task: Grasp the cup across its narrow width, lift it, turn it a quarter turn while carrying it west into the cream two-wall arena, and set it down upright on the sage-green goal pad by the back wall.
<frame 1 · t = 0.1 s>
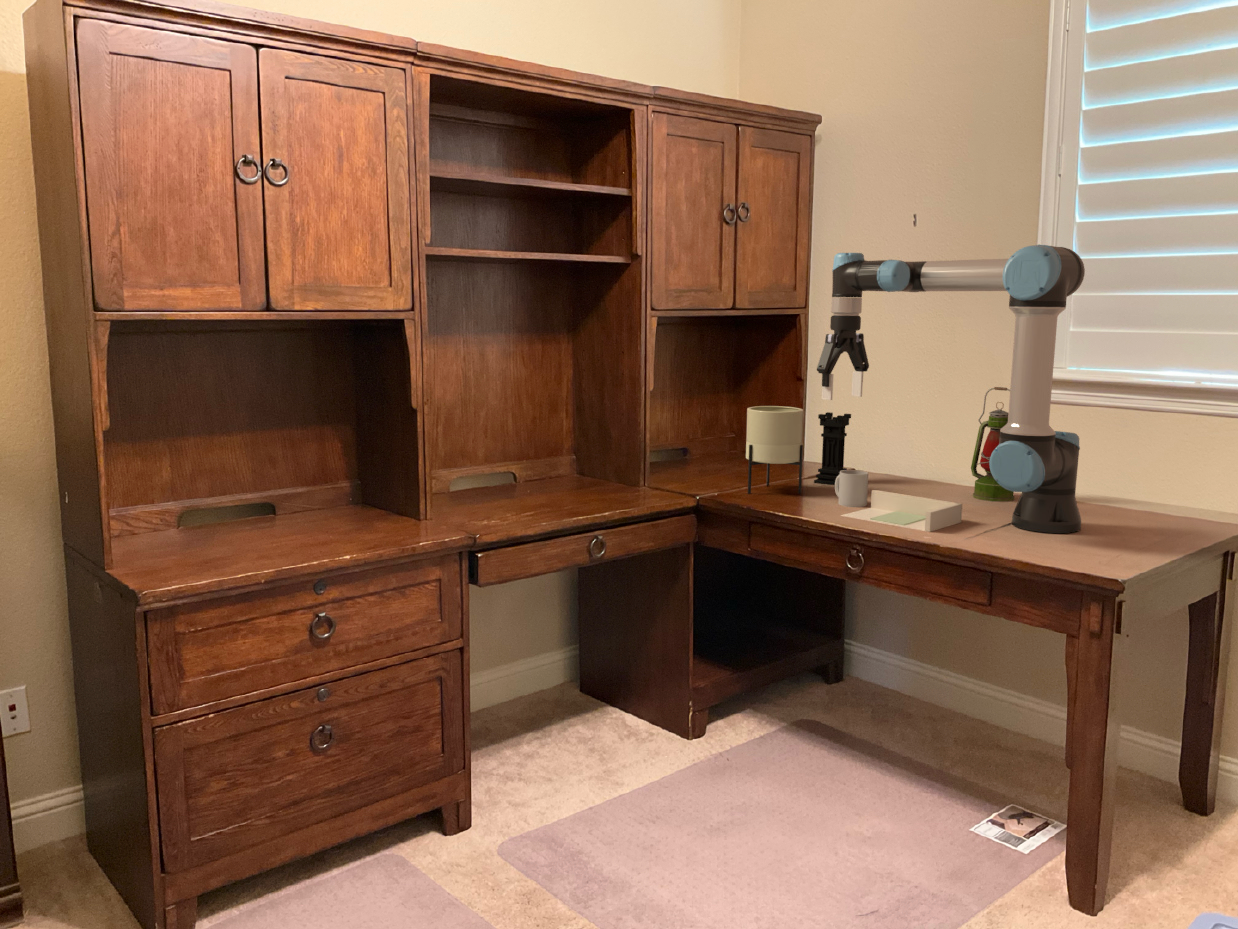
hand: (842, 398, 263), 28 cm above the table, fingers open, 13 cm apart
cup: (848, 506, 266), on the table
lantern: (993, 498, 277), on the table
goal pad: (899, 518, 247), resting on arena
arena: (899, 520, 247), on the table
planter: (773, 492, 284), on the table
chess piece: (831, 483, 298), on the table
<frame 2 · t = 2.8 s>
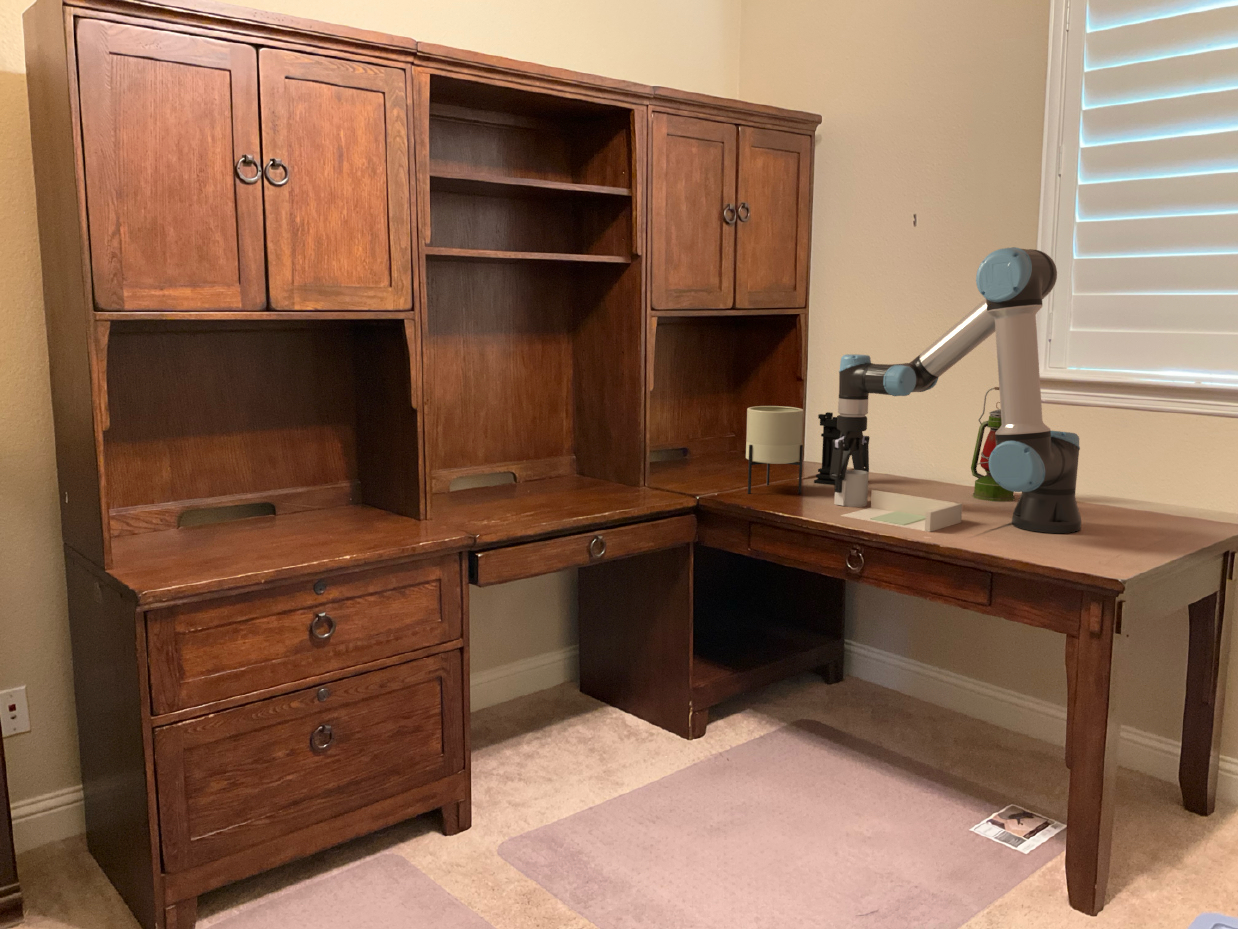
hand: (848, 502, 265), 1 cm above the table, fingers closed on cup, 7 cm apart
cup: (848, 505, 266), on the table, touching gripper
everything else where it was.
when the fingers open (3 cm above the table, at t = 8.0 s): cup drops 2 cm, resting on goal pad.
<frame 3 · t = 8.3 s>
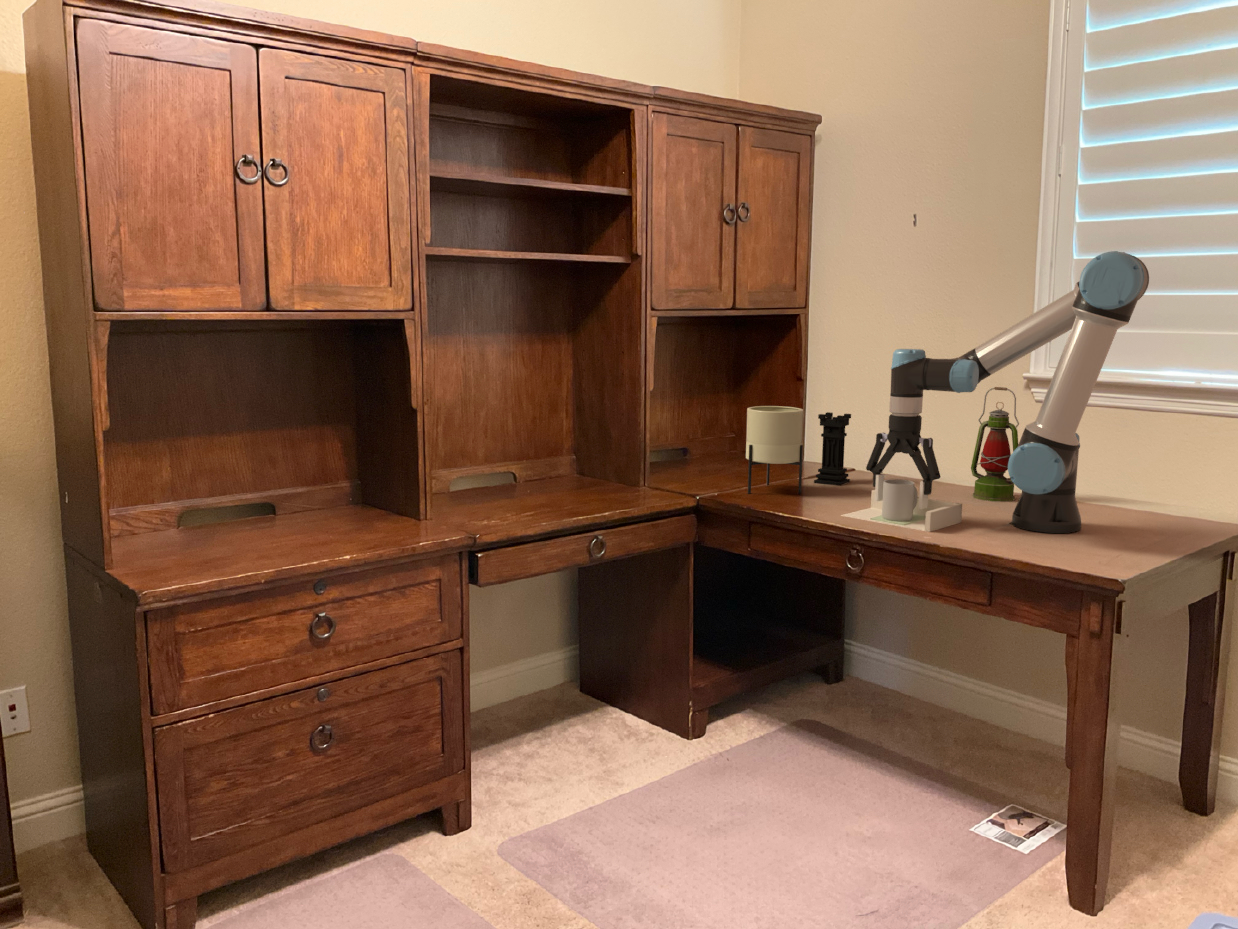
hand: (900, 504, 247), 4 cm above the table, fingers open, 11 cm apart
cup: (901, 518, 247), point 1 cm above the table, touching goal pad
everything else where it was.
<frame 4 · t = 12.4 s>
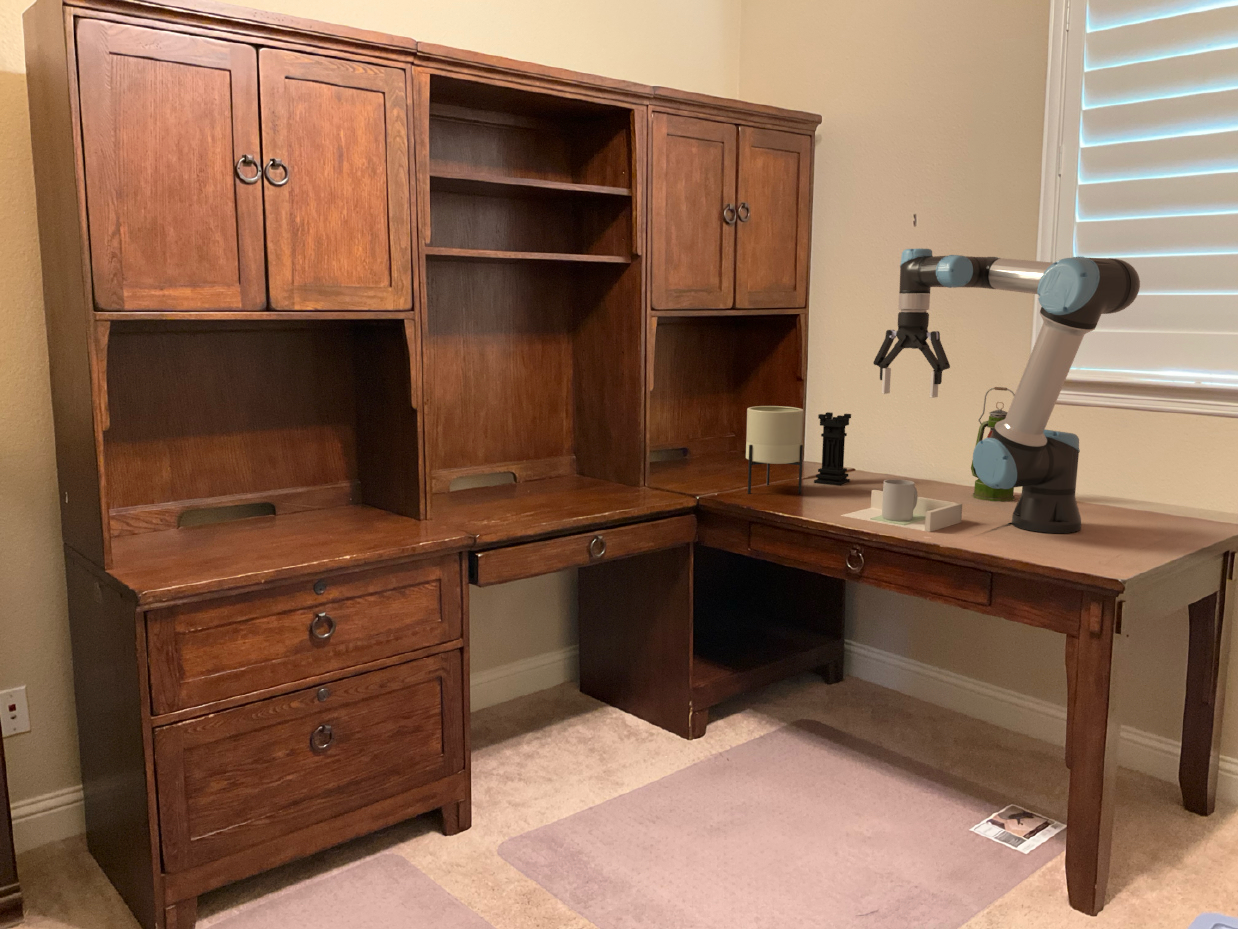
hand: (909, 395, 261), 29 cm above the table, fingers open, 13 cm apart
nothing on the table moved.
at the end: cup inside the target area (0.4 cm from its centre), point 0.6 cm above the table; cup tilted 0°; the gripper is holding nothing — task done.
